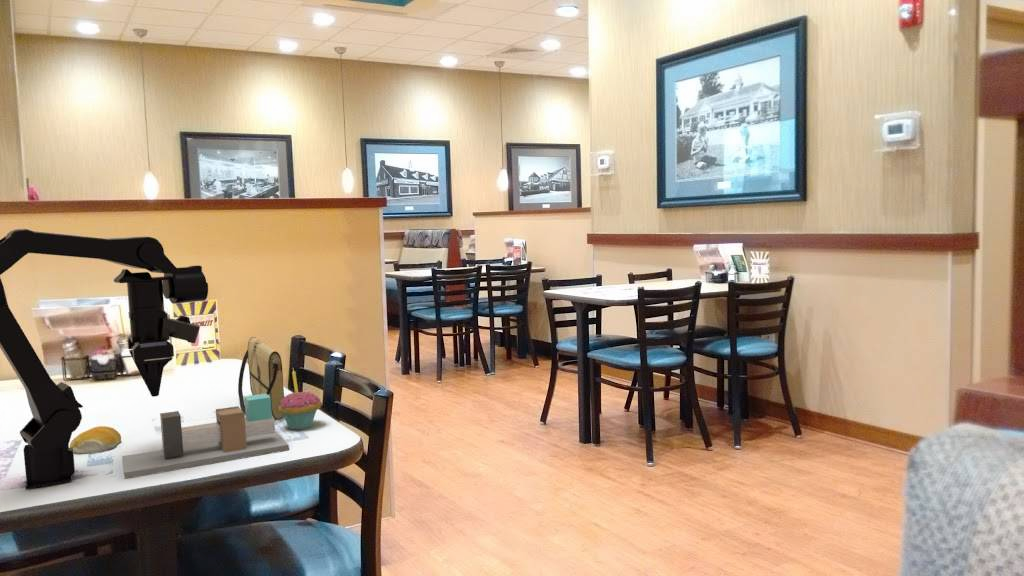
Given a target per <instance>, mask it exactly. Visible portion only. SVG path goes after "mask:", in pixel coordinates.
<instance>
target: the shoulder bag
mask: <svg viewBox="0 0 1024 576" xmlns="http://www.w3.org/2000/svg"><path fill="white" fill-rule="evenodd" d="M247 363H248V374H249V384H250V385H249V387H250V392H251V395H258V394H267V395H269V396H270V397H271V412H272V416H273V417H274V420H277V421H278V420H281V419H283V417H284V416H283V414H282V413H281V412H279V410H278V409H279V403H280V401H281V400H282V399H283V398H284V397H285V393H284V392H285V391H284V390H285V389H284V375H283V373H284V372H283V363H282V358H281V354H280V353H279V352H278V351H276V350H275V349H273V348H272V347H270V346H269V345H267V344H265V343H263V342H262V341H261V340H259V339H258V338H256V337H255V336H252V337H250V338H249V339H248V343H247V350H246V352H245V354H244V355H243V359H242V361H241V365H240V369H239V376H238V385H237V387H238V388H237V393H238V399H239V400H238V401H239V408H240V409H241V410H242V411H243V412H244V413H245V399H244V394H243V380H244V373H245V368H246V364H247ZM245 417H246V414H245Z"/></svg>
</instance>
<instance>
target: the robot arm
mask: <svg viewBox="0 0 1024 576" xmlns="http://www.w3.org/2000/svg"><path fill="white" fill-rule="evenodd" d="M164 249H165V248H164V247H163V245H162V243H161V242H160V241H159V240H158V239H157V238H155V237H151V236H134V237H133V236H131V237H130V236H129V237H116V238H115V237H113V238H112V237H111V238H100V237H91V236H84V235H82V236H81V235H73V234H63V233H54V232H53V233H52V232H42V231H36V230H34V231H33V230H31V229H27V228H18V229H13V230H11V231H10V230H9V232H8V233H7V234H6V235H5V236H4V237H2V238H1V239H0V276H1V275H2V274H4V273H6V271H8V270H9V269H10V268H12V267H13V266H14V265H15V264H16V263H18V262H19V261H20V260H21V259H23V257H25V256H26V255H28V254H36V255H38V254H39V255H47V256H48V255H49V256H61V257H72V258H84V259H95V260H102V261H105V262H106V261H107V262H109V263H113V264H116V265H120V266H124V267H129V268H131V269H137V270H138V269H139V270H140V269H141V270H146V271H143V272H139V271H138V272H131V271H130V270H129V269H128V268H126V269H125V268H123V269H122V270H121V272H120V273H119V274H118V275H117V276H116V277H114V278H113V282H114V283H117V284H126V287H127V302H128V319H129V326H130V334H129V336H128V337H126V340H127V349H128V352H129V355H130V356H131V358H132V360H133V362H134V364H135V366H136V368H137V370H138V372H139V374H140V376H141V379H142V380H143V382H144V383H145V386H146V388H147V390H148V392H149V393H150V396H151V397H153V398H155V397H159V395H160V391H161V384H162V377H163V374H164V373H163V372H164V367H166V366H167V364H168V363H169V362H171V361H173V359H174V358H173V357H175V352H174V345H173V344H172V343H171V342H170V340H171V339H170V337H171V338H174V339H177V340H178V339H179V340H182V341H183V340H184V341H186V342H187V343H189V344H196V342H197V338H198V336H199V331H200V327H201V326H200V325H198V324H195V323H191V321H190V320H191V319H190V317H189V316H186V315H182V314H181V315H179V316H178V317H177V318H170V317H168V312H167V311H165V301H164V299H166V300H168V299H169V301H170V303H171V304H176V305H177V304H183V303H184V304H186V303H195V302H204V301H206V300H207V298H208V294H209V283H208V282H207V279H206V275H205V274H204V272H203V268H202V267H203V266H202V265H197V264H196V265H189V266H185V267H184V266H183V267H177V266H176V265H174V263H173V262H172V261H171V260H170V259H169V258H168V257H167V255H166V254H165V250H164ZM149 272H151V273H156V274H163V276H152V275H151V274H150V273H149ZM9 306H10V305H9V304H8V299H7V296H6V292H5V288H4V284H3V282H2V279H1V277H0V350H1V352H2V353H3V355H4V356H5V358H6V360H7V361H8V363H9V365H10V366H11V368H12V369H13V371H14V373H15V375H16V376H17V378H18V379H19V382H21V385H22V386H23V388H24V390H25V394H26V397H27V402H28V405H29V409H30V411H31V414H32V418H31V419H30V420H29V421H28V422H27V424H25V425H24V427H22V429H21V430H20V431H19V435H20V436H21V438H22V439H23V441H24V443H25V445H24V447H23V459H24V461H23V462H24V469H25V479H26V480H25V484H24V488H25V489H26V490H27V489H33V488H34V489H35V488H39V487H44V486H45V487H46V486H50V485H51V486H52V485H57V484H63V483H68V482H71V481H72V480H73V476H74V475H75V474H76V473H75V472H76V467H75V465H76V463H75V455H74V454H75V453H73V448H72V447H70V442H71V438H72V435H73V432H75V431H76V430H77V429H79V428H78V427H79V426H80V425H81V422H82V420H83V417H82V412H81V410H80V408H81V409H83V408H84V406H83V405H82V404H81V403H80V402H79V401H78V400H77V399H76V396H75V394H74V391H73V388H72V386H70V385H69V384H67V383H64V382H62V381H60V382H59V383H58V384H56V382H54V380H52V378H51V376H50V374H49V372H47V370H46V368H45V366H44V364H43V363H42V360H40V357H39V356H38V354H37V352H36V351H35V348H33V345H32V344H31V342H30V341H29V339H28V337H27V336H26V334H25V332H24V331H23V329H22V328H21V325H20V323H18V320H17V319H16V317H15V315H14V314H13V313H12V311H11V309H10V307H9Z"/></svg>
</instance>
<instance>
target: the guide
mask: <svg viewBox="0 0 1024 576" xmlns="http://www.w3.org/2000/svg"><path fill="white" fill-rule="evenodd" d="M215 416H216V422H220V423H221V437H222V442H217V443H211V444H205V445H199V446H193V447H186V448H183V454H184V455H183V456H177V457H171V458H165V457H164V454H163V448H162V449H157V450H151V451H145V452H144V451H143V452H139V453H133V454H126V455H122V456H121V461H122V467H123V476H124V479H130V478H137V477H141V476H146V475H147V476H148V475H152V474H153V475H154V474H159V473H163V472H170V471H175V470H176V471H177V470H181V469H187V468H192V467H198V466H199V467H200V466H205V465H212V464H216V463H222V462H228V461H234V460H238V459H237V458H240V459H243V458H242V457H245V458H249V457H248V456H251V457H256V456H255V455H257V456H261V454H263V455H266V454H267V453H268V454H272V452H274V453H278V451H280V452H284V451H283V450H285V451H289V449H290V445H289V444H288V442H287V441H286V439H284V438H283V437H282V436H281V435H280V434H279V433H278V432H277V431H276V430H275V433H272V434H266V435H260V436H254V437H248V438H246V428H245V418H246V416H245V413H244V412H243V411H242V410H241V407H240V406H230V407H223V408H216V409H215ZM233 459H234V460H233Z"/></svg>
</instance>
